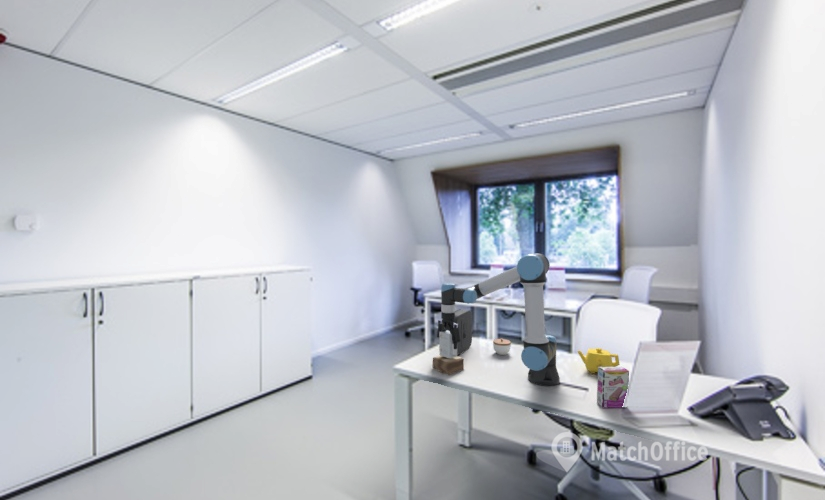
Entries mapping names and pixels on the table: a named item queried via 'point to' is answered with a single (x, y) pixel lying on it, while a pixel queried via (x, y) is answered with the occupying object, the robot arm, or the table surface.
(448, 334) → the small box
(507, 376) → the table surface
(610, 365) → the teapot
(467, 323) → the speaker
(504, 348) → the lidded jar
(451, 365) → the brown square box
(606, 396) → the candy bar box
